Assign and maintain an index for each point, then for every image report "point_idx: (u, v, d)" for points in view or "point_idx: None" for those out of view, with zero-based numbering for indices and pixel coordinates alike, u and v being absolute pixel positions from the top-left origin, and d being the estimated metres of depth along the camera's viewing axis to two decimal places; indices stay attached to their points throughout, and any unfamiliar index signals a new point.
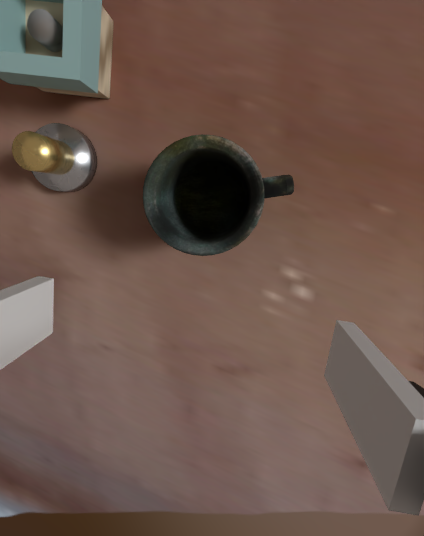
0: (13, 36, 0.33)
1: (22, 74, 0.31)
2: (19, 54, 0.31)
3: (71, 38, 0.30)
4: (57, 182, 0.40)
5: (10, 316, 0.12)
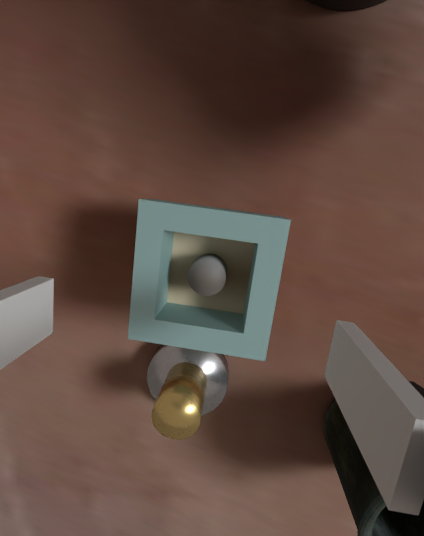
0: (164, 282, 0.24)
1: None
2: (183, 325, 0.23)
3: (260, 313, 0.22)
4: None
5: (10, 316, 0.12)
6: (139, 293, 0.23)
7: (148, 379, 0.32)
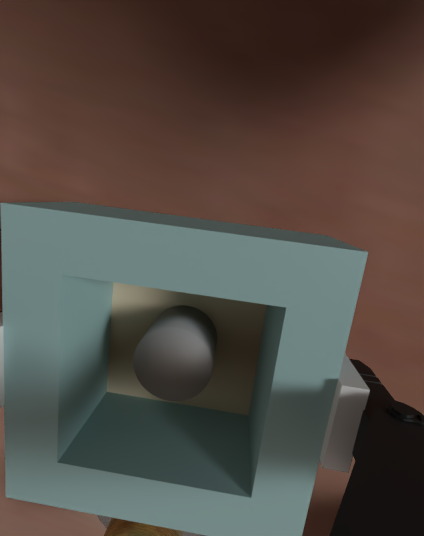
0: (89, 369, 0.12)
1: None
2: (119, 477, 0.10)
3: (288, 458, 0.10)
4: None
5: None
6: (20, 408, 0.10)
7: None
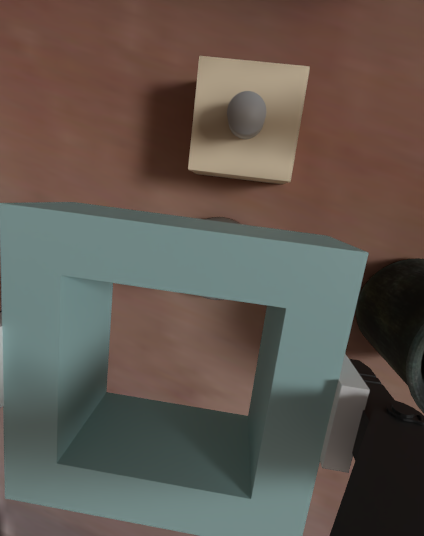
0: (89, 370, 0.12)
1: None
2: (119, 478, 0.10)
3: (288, 459, 0.10)
4: None
5: None
6: (20, 409, 0.10)
7: None
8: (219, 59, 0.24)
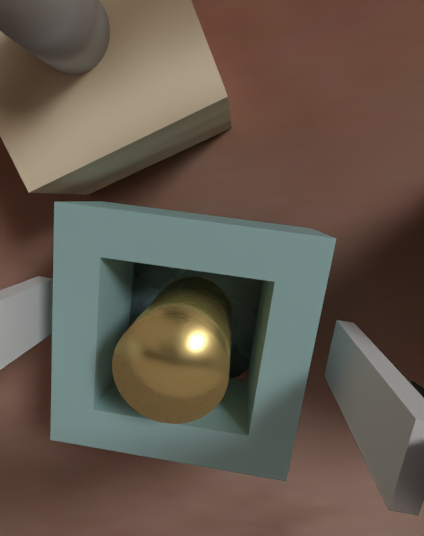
0: (115, 339, 0.15)
1: None
2: (143, 421, 0.13)
3: (277, 402, 0.12)
4: None
5: (10, 316, 0.12)
6: (64, 365, 0.13)
7: None
8: None
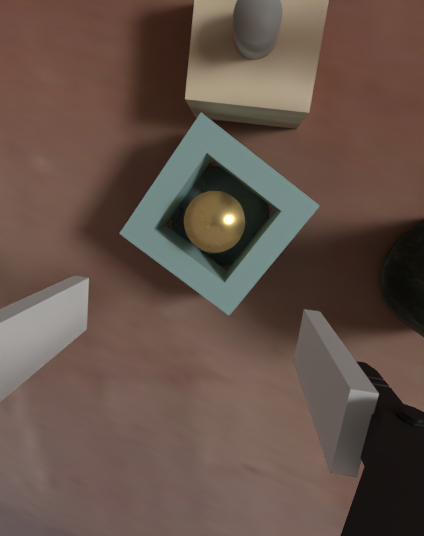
0: (176, 203, 0.24)
1: None
2: (176, 248, 0.23)
3: (248, 272, 0.23)
4: (214, 252, 0.27)
5: (55, 313, 0.13)
6: (153, 197, 0.22)
7: (173, 218, 0.27)
8: None
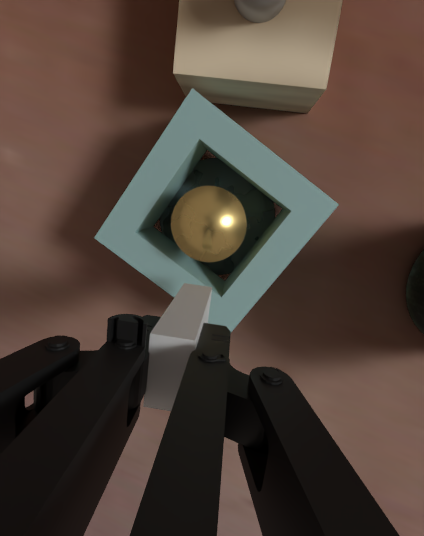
0: (164, 202, 0.20)
1: None
2: (162, 256, 0.19)
3: (250, 285, 0.19)
4: None
5: None
6: (134, 194, 0.18)
7: (162, 219, 0.23)
8: None
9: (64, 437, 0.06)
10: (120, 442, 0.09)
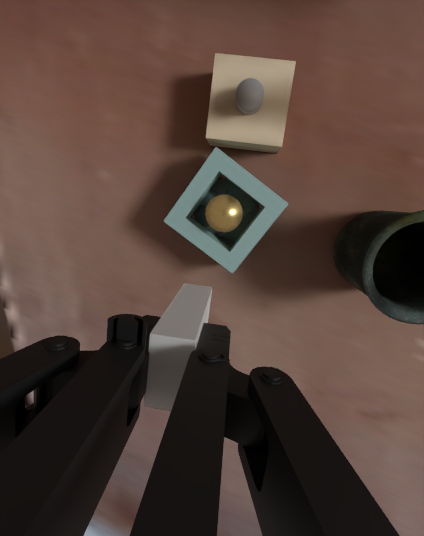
0: (198, 202, 0.38)
1: None
2: (199, 230, 0.37)
3: (244, 245, 0.36)
4: (222, 235, 0.40)
5: None
6: (185, 198, 0.36)
7: (195, 212, 0.40)
8: (229, 55, 0.34)
9: (64, 437, 0.06)
10: (120, 442, 0.09)
